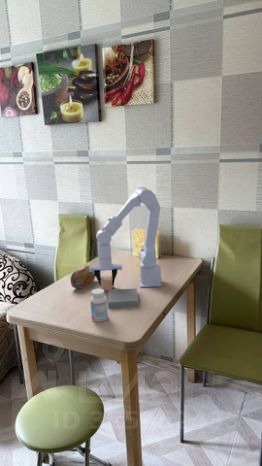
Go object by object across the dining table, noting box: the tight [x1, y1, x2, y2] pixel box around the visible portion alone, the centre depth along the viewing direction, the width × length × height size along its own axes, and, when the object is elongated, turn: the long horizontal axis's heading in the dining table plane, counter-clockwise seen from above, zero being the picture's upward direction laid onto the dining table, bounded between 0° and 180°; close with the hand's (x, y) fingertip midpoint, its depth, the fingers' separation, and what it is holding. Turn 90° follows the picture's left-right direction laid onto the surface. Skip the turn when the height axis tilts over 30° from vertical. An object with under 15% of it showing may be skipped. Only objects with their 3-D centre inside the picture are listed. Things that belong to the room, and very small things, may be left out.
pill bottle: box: [89, 288, 109, 323], centre depth 132 cm, size 6×6×11 cm
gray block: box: [107, 288, 139, 309], centre depth 147 cm, size 12×12×3 cm
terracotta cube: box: [100, 275, 114, 292], centre depth 159 cm, size 5×5×5 cm
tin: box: [70, 265, 96, 290], centre depth 164 cm, size 15×3×8 cm, turn 147°
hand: (106, 285), depth 159 cm, fingers closed on terracotta cube, 5 cm apart
